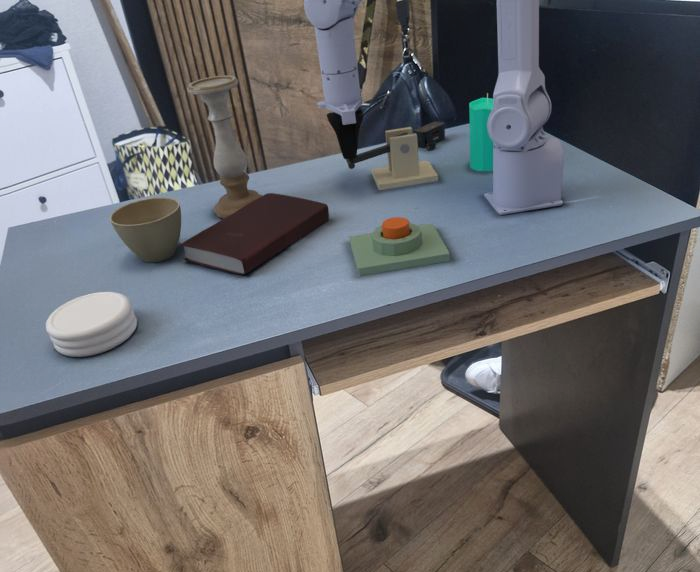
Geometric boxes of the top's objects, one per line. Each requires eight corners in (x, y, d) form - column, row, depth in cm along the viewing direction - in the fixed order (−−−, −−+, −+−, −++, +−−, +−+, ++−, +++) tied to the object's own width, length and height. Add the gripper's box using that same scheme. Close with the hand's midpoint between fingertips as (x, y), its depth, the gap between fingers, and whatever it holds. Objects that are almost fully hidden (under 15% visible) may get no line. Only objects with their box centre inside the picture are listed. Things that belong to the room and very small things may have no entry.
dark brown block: (411, 149, 122) (410, 132, 120) (435, 138, 125) (434, 121, 123) (430, 152, 119) (429, 135, 117) (454, 141, 122) (453, 124, 121)
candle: (465, 163, 112) (464, 91, 105) (499, 158, 112) (500, 86, 105) (474, 174, 107) (474, 100, 100) (510, 169, 107) (511, 94, 100)
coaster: (58, 369, 73) (46, 344, 71) (52, 330, 81) (41, 306, 79) (144, 340, 76) (135, 315, 74) (131, 305, 84) (122, 281, 82)
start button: (407, 227, 87) (406, 215, 86) (412, 238, 84) (411, 225, 83) (381, 231, 87) (379, 219, 86) (385, 242, 84) (384, 230, 83)
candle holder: (234, 197, 112) (205, 74, 100) (276, 200, 108) (252, 73, 97) (205, 218, 106) (170, 89, 94) (249, 221, 102) (219, 88, 91)
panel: (433, 230, 91) (432, 210, 90) (450, 261, 83) (449, 240, 81) (350, 244, 91) (347, 224, 89) (359, 276, 83) (356, 255, 81)
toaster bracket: (379, 191, 106) (374, 144, 102) (372, 175, 113) (367, 130, 108) (438, 182, 106) (436, 134, 102) (427, 166, 113) (425, 121, 108)
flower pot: (133, 278, 90) (116, 231, 86) (120, 253, 98) (104, 209, 94) (200, 256, 94) (187, 210, 90) (182, 234, 101) (170, 191, 97)
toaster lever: (350, 173, 105) (346, 160, 104) (347, 164, 109) (343, 150, 108) (414, 152, 104) (411, 138, 103) (408, 143, 109) (405, 129, 107)
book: (331, 221, 98) (328, 201, 96) (246, 278, 86) (241, 256, 84) (270, 210, 105) (266, 191, 103) (183, 262, 93) (177, 241, 91)
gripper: (310, 64, 104) (322, 147, 112) (317, 84, 92) (329, 175, 100) (353, 58, 105) (362, 141, 112) (365, 76, 93) (374, 168, 100)
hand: (349, 157), depth 106 cm, fingers closed, pressing on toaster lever
